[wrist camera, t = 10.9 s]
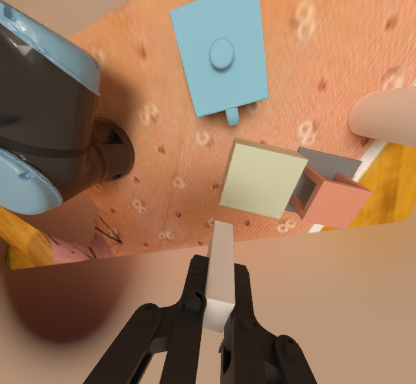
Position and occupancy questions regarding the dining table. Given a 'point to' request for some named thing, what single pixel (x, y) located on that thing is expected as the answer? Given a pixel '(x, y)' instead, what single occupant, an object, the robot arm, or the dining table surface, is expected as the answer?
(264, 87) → the teapot
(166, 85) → the dining table surface
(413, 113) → the cup
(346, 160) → the mat
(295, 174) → the step block
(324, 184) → the stool
